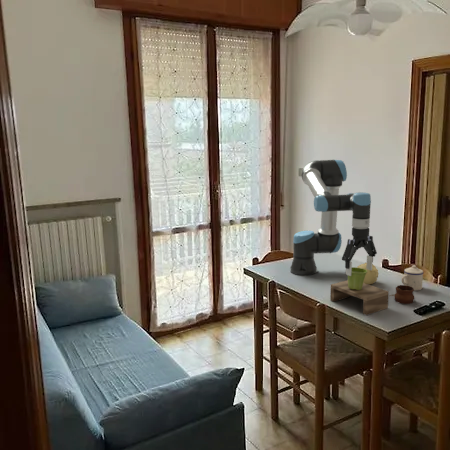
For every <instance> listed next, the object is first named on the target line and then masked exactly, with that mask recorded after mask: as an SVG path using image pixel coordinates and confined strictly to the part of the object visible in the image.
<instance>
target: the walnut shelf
mask: <svg viewBox="0 0 450 450" xmlns="http://www.w3.org/2000/svg"><path fill="white" fill-rule="evenodd" d="M389 293H390V292H389V291H388V290H386V289H384V288H381V287H377V286H374V285H372V284H365V283H363V286H362V289H361V290H356V289H350V288H349V287H348V279H346V280H342V281H339V282H335V283H332V284H330V298H329V299H330V302H337V301H340V300H341V301H342V300H344V299H347V298H351V297H355V298H358V299H361V300H363V304H362V305H363V307H362V314H363V315H366V316H368V315H371V314H374V313H377V312H380V311H383V310H386V309H388V308H389V296H390V295H389Z"/></svg>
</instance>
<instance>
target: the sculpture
mask: <svg viewBox="0 0 450 450" xmlns="http://www.w3.org/2000/svg"><path fill="white" fill-rule="evenodd" d="M366 266H367V262H364V263H361V264H359V265H358V266H356V268H362V269H365V270H367V273H366V275H365V278H364V282H363V283H365V284H368V285H373V284H374V283H376V282H377V281H378V278H379V274H380V273H379V269H378V268H377V266H376V265H374V264H373V263H372V270H368V269H366Z"/></svg>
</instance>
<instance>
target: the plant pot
mask: <svg viewBox="0 0 450 450" xmlns="http://www.w3.org/2000/svg"><path fill="white" fill-rule="evenodd" d="M366 273H367V270H365V269H362V268H357V266H355V267H353V266H352V272H351V276H349V275H347V280H348V287H349V288H350V289H356V290H361V289H362V286H363V282H364V278H365V275H366Z"/></svg>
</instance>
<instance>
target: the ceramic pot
mask: <svg viewBox="0 0 450 450" xmlns="http://www.w3.org/2000/svg"><path fill="white" fill-rule="evenodd" d="M414 291H415V290H414V288H413V287H411V286H406V285H404V284H400V285H397V286H395V294H390V295H389V297H393V296H394V300H395V302H396V303H399V304H400V305H401V304H402V305H410V304H413V303H414V302H415V295H414Z"/></svg>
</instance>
